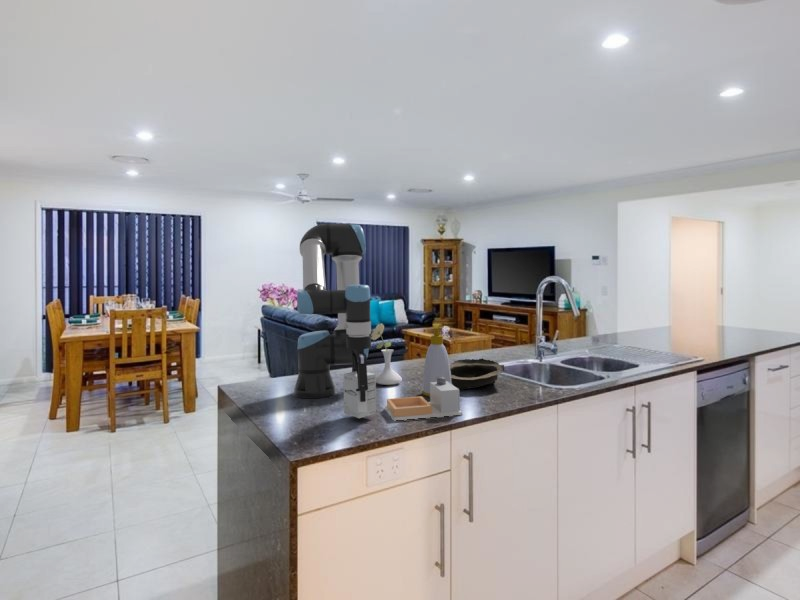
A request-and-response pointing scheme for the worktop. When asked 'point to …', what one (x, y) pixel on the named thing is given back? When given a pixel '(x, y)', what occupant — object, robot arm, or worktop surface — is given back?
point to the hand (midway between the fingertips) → (360, 406)
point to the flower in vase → (387, 373)
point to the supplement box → (352, 395)
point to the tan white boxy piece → (427, 403)
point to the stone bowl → (474, 373)
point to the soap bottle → (436, 361)
